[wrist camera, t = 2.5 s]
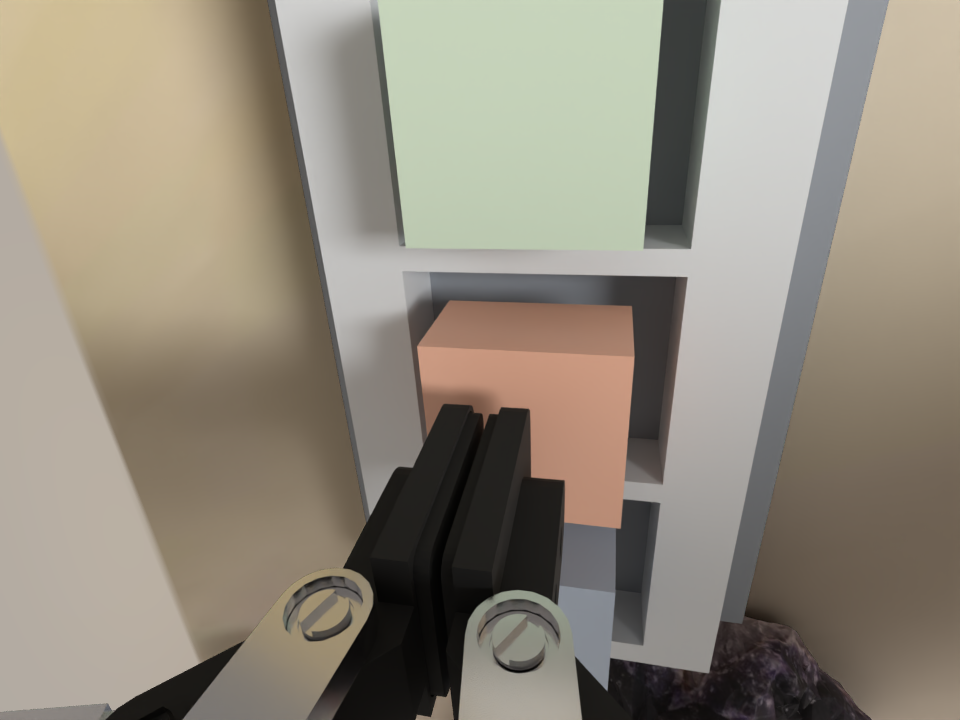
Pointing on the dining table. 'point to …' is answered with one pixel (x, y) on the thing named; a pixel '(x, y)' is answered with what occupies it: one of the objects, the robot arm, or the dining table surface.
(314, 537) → the dining table surface
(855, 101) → the keypad board
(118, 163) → the dining table surface
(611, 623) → the key slate
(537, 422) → the key terracotta
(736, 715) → the crystal cluster
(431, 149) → the key sage
